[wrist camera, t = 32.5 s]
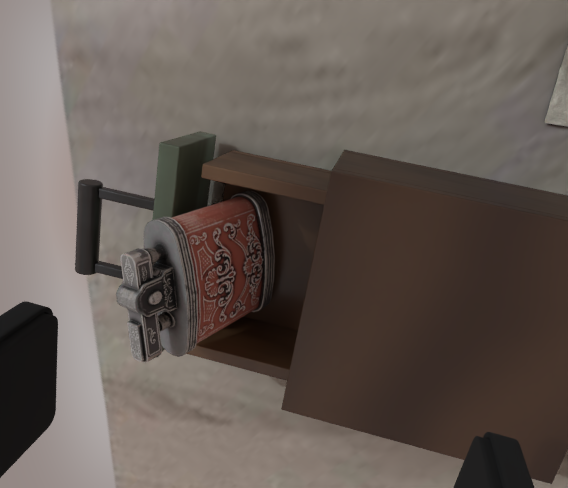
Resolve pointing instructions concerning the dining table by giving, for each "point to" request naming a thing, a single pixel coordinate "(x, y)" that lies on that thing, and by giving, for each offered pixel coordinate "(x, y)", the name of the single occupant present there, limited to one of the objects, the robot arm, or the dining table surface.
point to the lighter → (197, 275)
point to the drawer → (238, 178)
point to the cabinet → (437, 311)
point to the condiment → (560, 97)
